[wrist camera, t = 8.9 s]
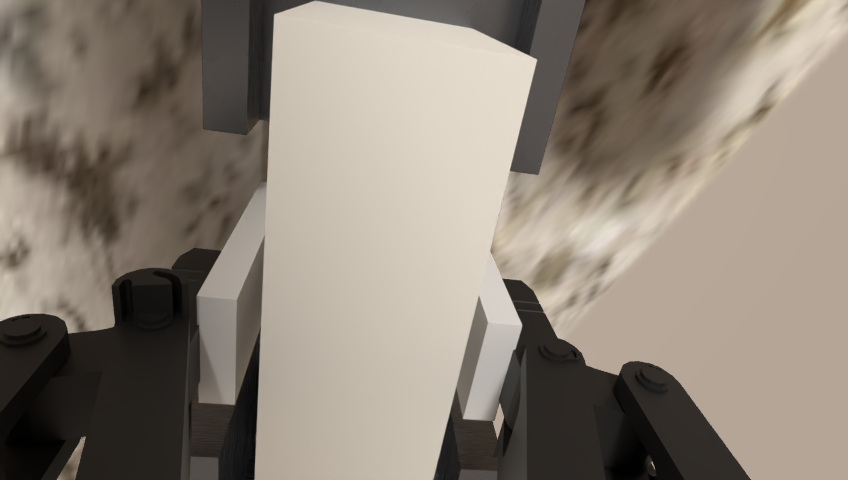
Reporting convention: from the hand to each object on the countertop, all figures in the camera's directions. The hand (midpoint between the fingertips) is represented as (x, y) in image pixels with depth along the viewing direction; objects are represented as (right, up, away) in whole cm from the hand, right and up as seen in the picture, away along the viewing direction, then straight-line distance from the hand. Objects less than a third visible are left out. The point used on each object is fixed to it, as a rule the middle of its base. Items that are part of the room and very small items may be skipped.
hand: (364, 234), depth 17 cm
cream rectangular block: (0, -1, -1) cm, 1 cm away
